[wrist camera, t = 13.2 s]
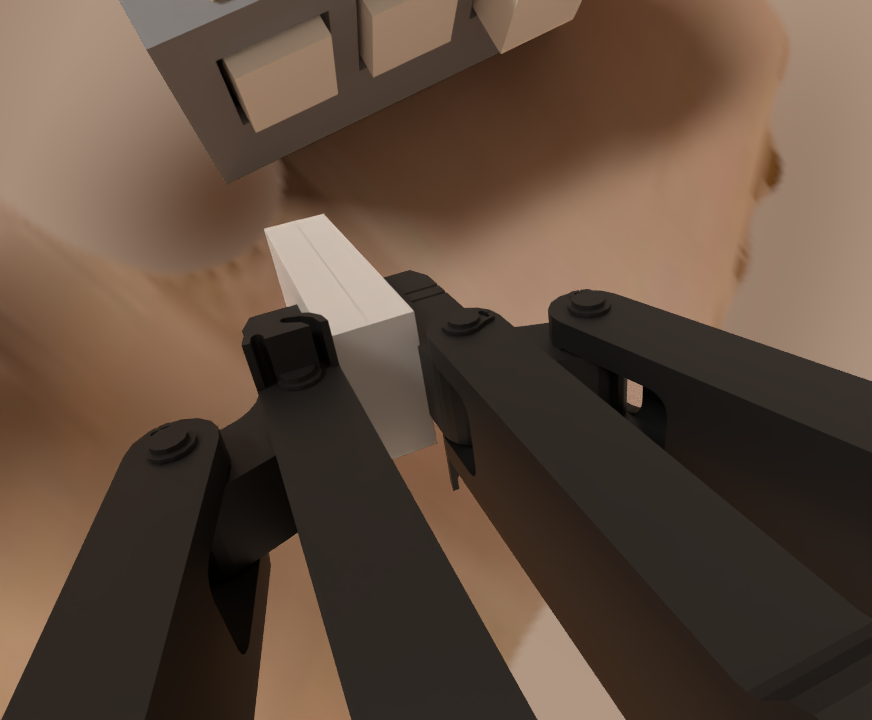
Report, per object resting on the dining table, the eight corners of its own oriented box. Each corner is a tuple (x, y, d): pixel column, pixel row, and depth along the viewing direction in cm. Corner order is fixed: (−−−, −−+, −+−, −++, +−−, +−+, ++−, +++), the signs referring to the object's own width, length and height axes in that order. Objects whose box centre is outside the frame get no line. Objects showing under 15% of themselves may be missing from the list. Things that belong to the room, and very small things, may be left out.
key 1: (222, 73, 35) (195, 10, 30) (304, 36, 35) (292, -32, 30) (256, 132, 34) (234, 79, 29) (338, 94, 35) (331, 35, 30)
